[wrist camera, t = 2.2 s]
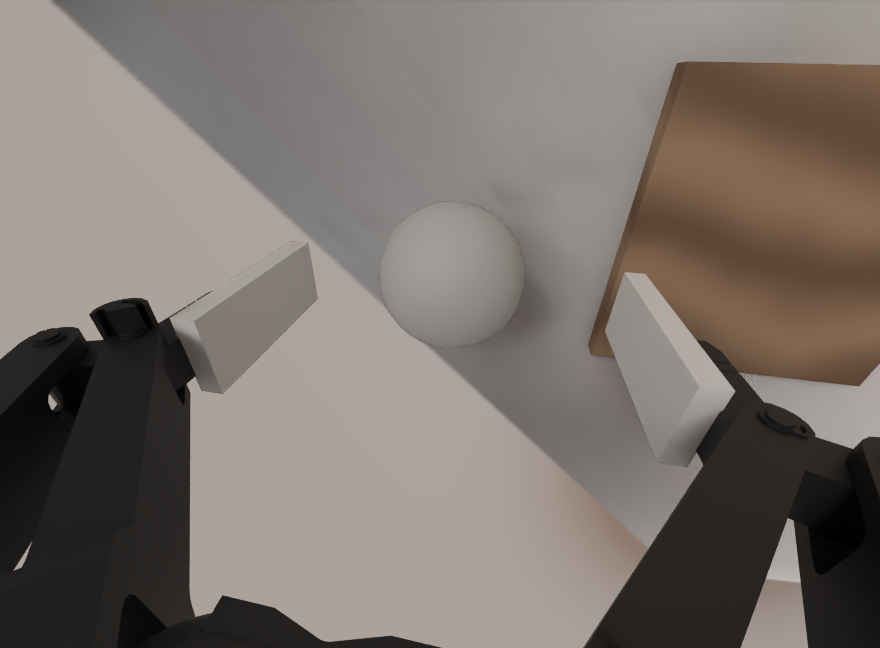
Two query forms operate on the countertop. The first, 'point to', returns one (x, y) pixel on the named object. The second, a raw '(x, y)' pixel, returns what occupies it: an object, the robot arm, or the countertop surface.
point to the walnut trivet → (764, 217)
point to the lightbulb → (452, 274)
